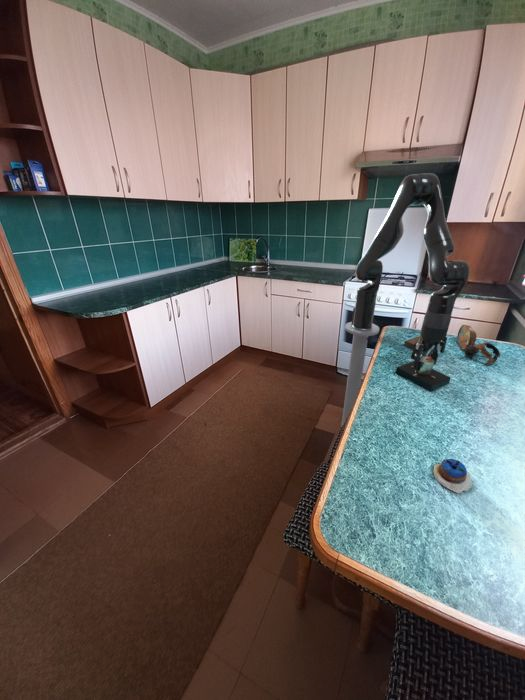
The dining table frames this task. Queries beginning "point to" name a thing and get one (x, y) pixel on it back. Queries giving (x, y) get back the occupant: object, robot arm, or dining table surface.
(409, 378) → the control box
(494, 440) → the dining table surface
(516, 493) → the dining table surface
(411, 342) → the walnut box
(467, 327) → the tin
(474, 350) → the brown black curved band
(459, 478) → the dessert
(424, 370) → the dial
